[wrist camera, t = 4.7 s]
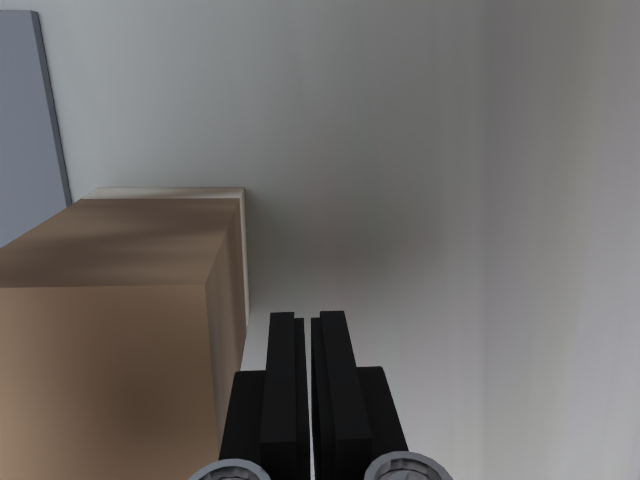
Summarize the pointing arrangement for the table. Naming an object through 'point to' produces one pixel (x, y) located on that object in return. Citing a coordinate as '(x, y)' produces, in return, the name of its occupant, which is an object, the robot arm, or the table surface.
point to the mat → (27, 131)
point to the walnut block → (122, 335)
